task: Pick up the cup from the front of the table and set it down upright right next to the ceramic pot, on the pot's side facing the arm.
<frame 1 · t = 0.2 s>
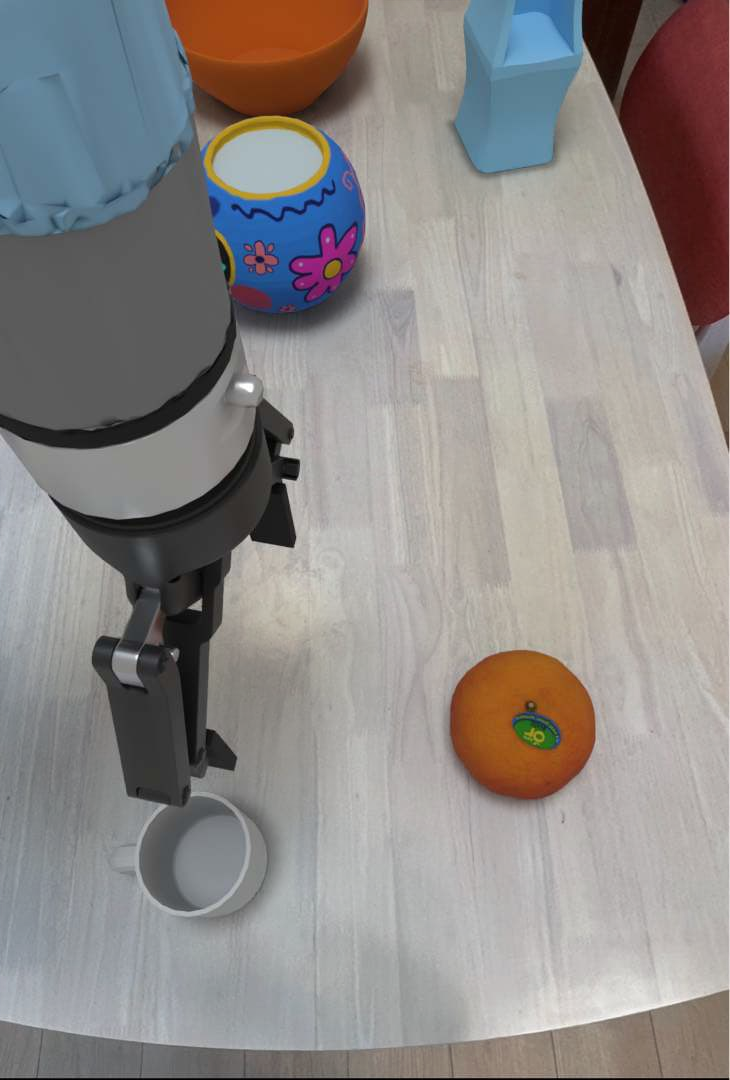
hand: (245, 642, 44), 18 cm above the table, tool pointing down, fingers open, 13 cm apart
ceramic pot: (284, 283, 81), on the table
cup: (200, 862, 55), on the table
vase: (504, 143, 91), on the table
bowl: (271, 84, 96), on the table
fruit: (511, 735, 59), on the table
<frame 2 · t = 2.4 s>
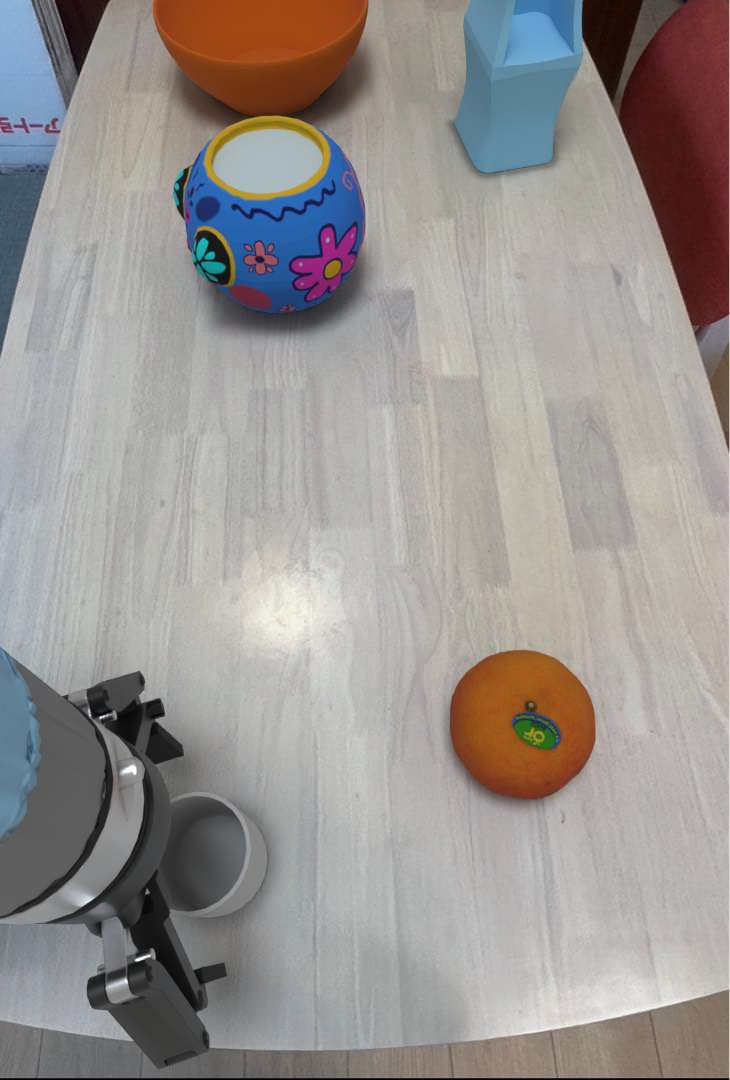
hand: (182, 859, 48), 7 cm above the table, tool pointing down, fingers open, 13 cm apart
nothing on the table moved.
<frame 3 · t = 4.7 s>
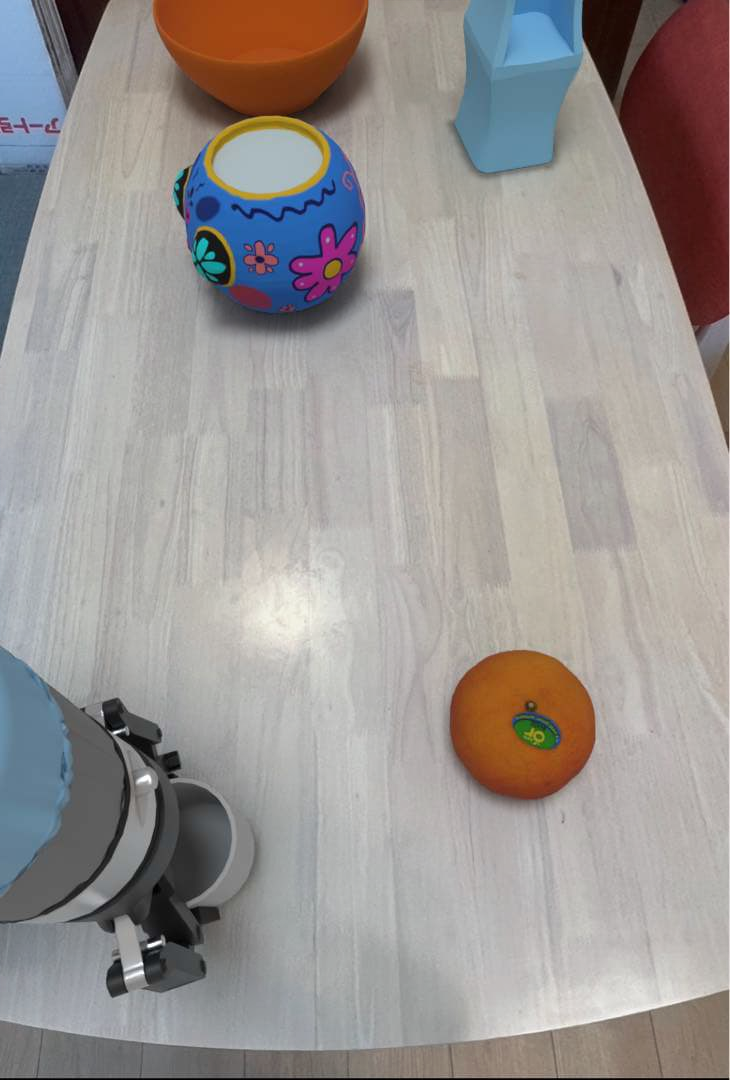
hand: (187, 857, 51), 4 cm above the table, tool pointing down, fingers closed on cup, 7 cm apart
cup: (184, 853, 52), point 3 cm above the table, touching gripper
everything else where it was.
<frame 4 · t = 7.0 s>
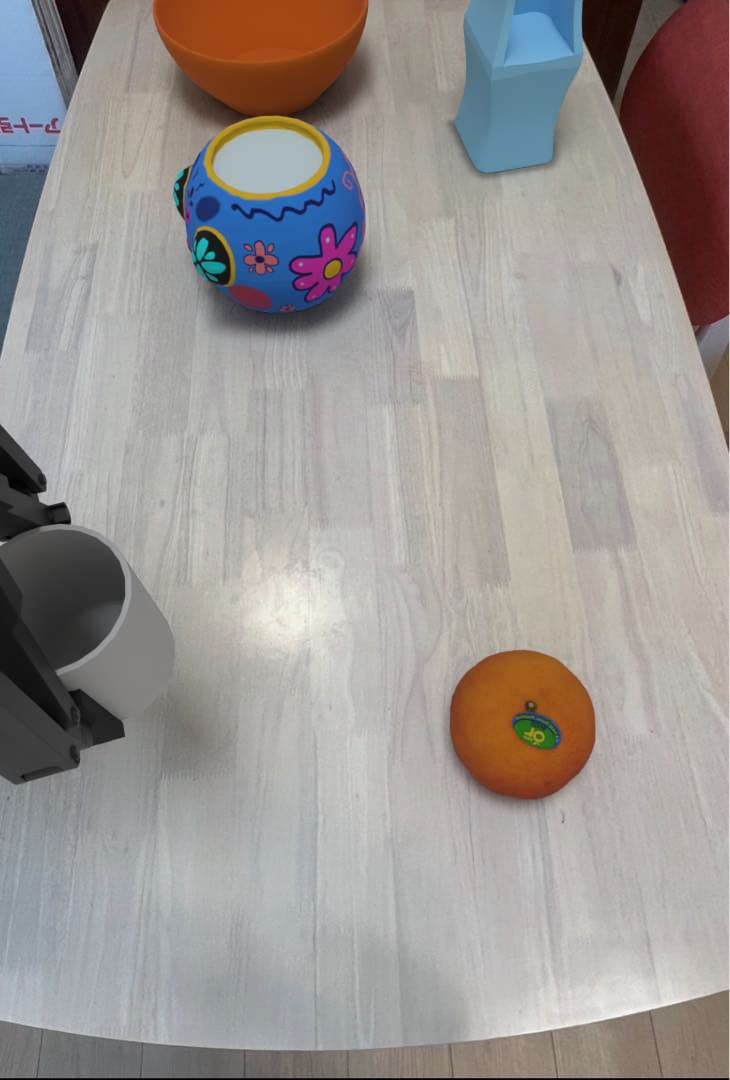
hand: (88, 664, 40), 21 cm above the table, tool pointing down, fingers closed on cup, 7 cm apart
cup: (85, 662, 41), point 20 cm above the table, touching gripper
everything else where it was.
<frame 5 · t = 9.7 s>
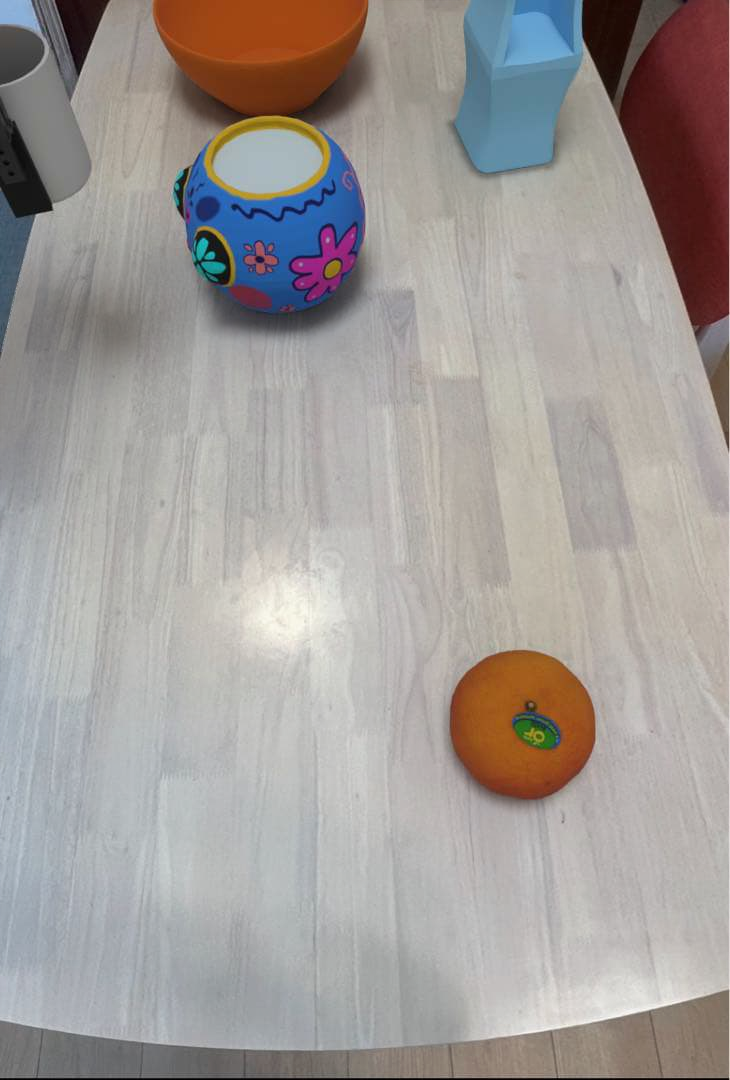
hand: (29, 175, 57), 21 cm above the table, tool pointing down, fingers closed on cup, 7 cm apart
cup: (29, 178, 58), point 21 cm above the table, touching gripper
everything else where it was.
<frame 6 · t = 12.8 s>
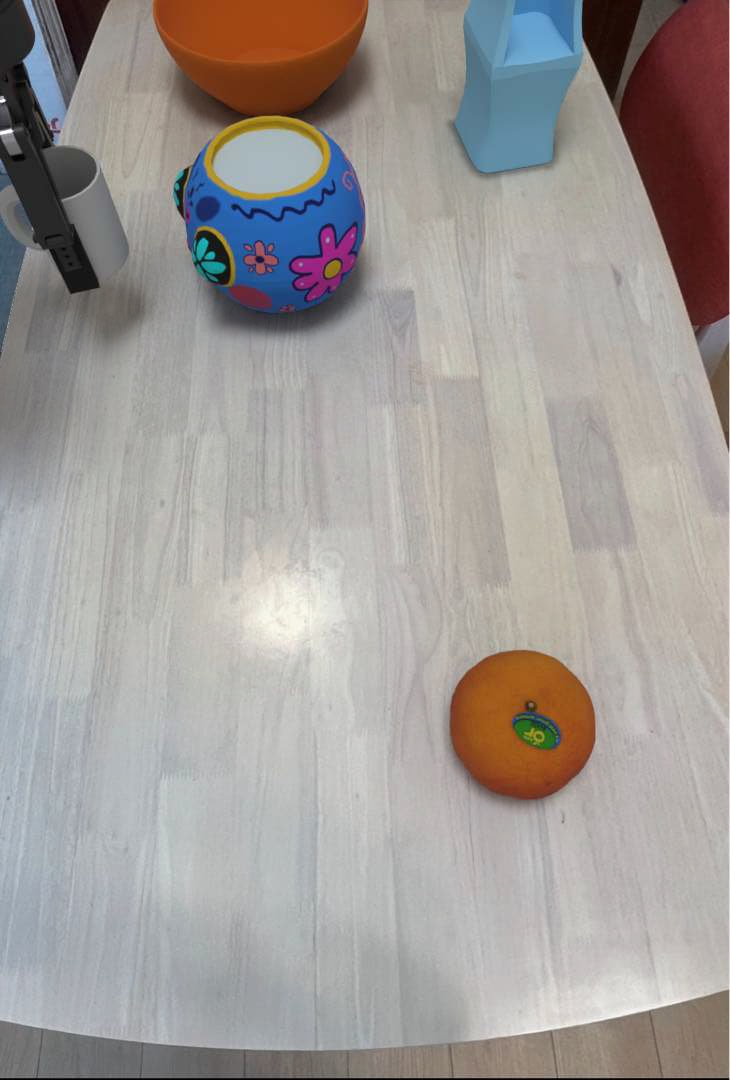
hand: (79, 258, 71), 9 cm above the table, tool pointing down, fingers closed on cup, 7 cm apart
cup: (78, 259, 71), point 8 cm above the table, touching gripper
everything else where it was.
when the fingers open (0 cm above the table, at t = 15.0 s): cup stays where it is, on the table.
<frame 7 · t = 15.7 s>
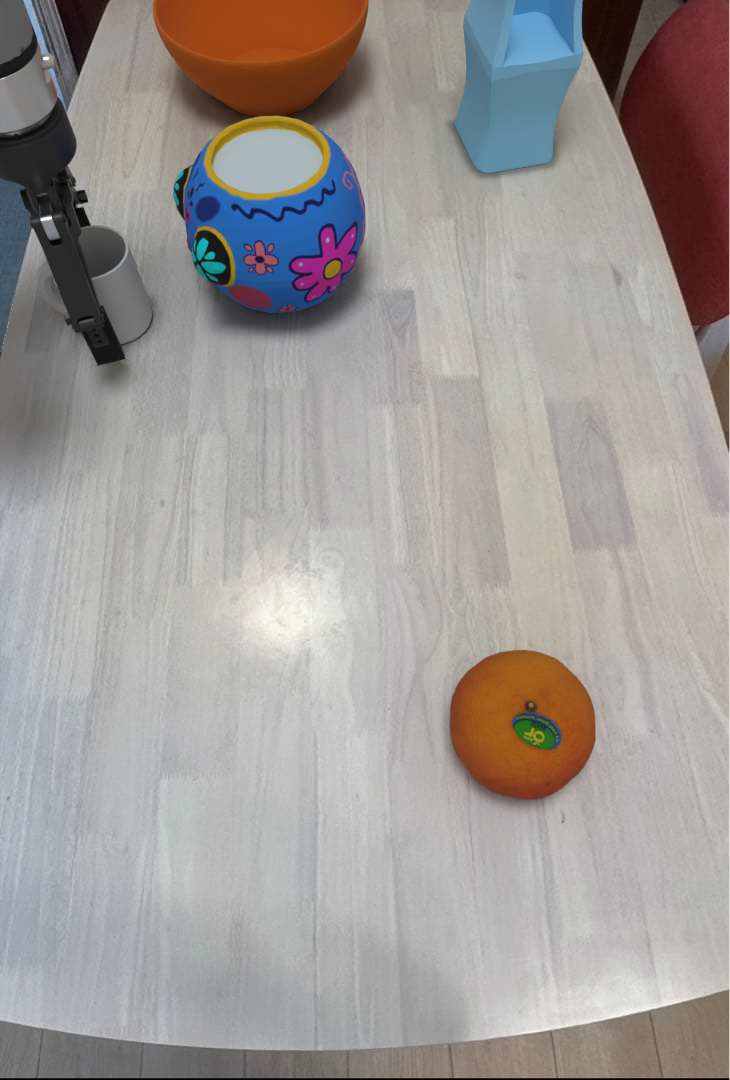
hand: (101, 310, 77), 2 cm above the table, tool pointing down, fingers open, 13 cm apart
cup: (106, 322, 79), on the table
everything else where it was.
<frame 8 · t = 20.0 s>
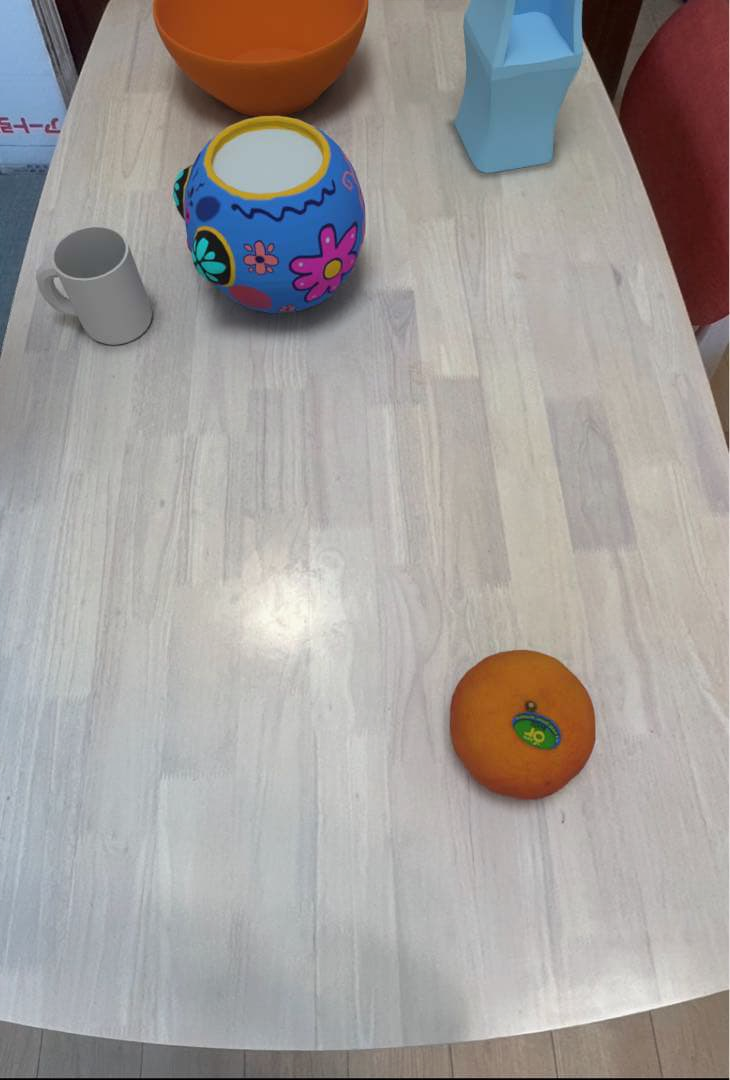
nothing on the table moved.
at the end: cup inside the target area on the table beside the ceramic pot (0.7 cm from its centre), on the table; cup tilted 0°; ceramic pot moved 0.2 cm from its start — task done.
